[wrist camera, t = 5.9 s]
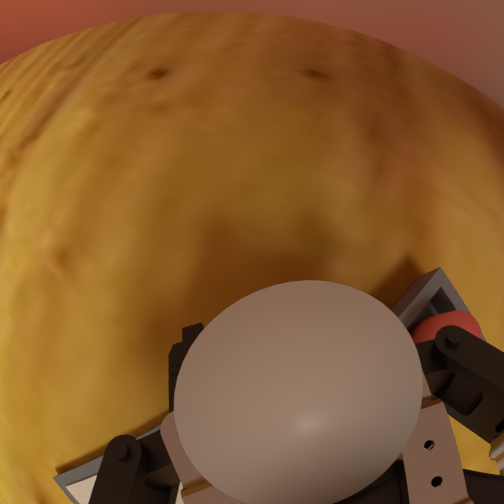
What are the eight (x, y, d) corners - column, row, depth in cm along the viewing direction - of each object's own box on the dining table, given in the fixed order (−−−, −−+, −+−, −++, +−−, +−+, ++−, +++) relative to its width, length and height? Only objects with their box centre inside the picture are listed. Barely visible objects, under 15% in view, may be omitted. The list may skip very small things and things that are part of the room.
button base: (418, 276, 16) (439, 267, 13) (467, 349, 14) (489, 348, 11) (346, 352, 14) (362, 354, 12) (404, 426, 13) (424, 436, 10)
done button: (433, 300, 13) (459, 292, 11) (465, 350, 12) (491, 349, 10) (387, 354, 13) (411, 355, 10) (424, 404, 12) (449, 411, 9)
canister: (276, 304, 15) (326, 230, 5) (324, 364, 14) (454, 399, 4) (213, 352, 14) (125, 380, 4) (262, 412, 13) (279, 539, 3)
